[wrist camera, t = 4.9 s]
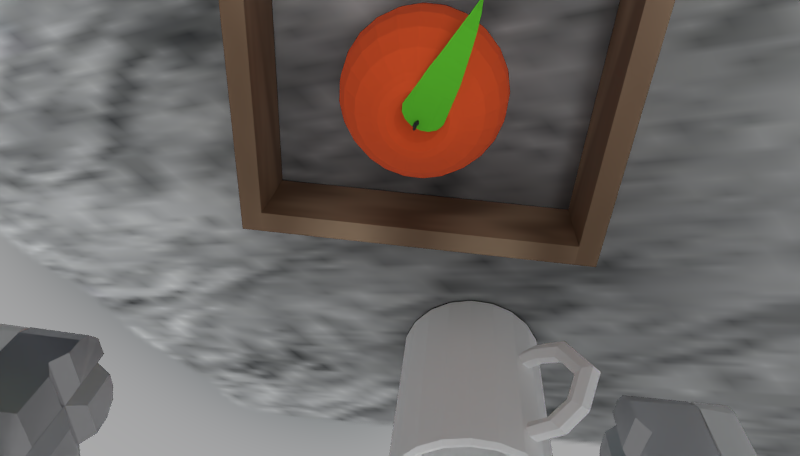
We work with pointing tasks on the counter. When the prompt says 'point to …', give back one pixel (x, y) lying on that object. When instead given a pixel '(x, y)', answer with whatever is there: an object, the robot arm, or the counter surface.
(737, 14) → the counter surface
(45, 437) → the robot arm
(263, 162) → the wooden frame
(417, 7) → the clementine
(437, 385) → the mug
